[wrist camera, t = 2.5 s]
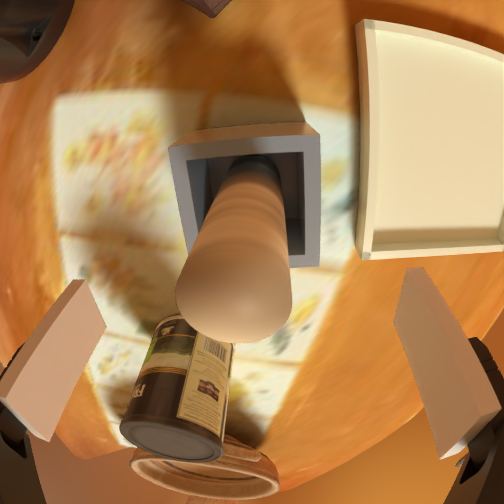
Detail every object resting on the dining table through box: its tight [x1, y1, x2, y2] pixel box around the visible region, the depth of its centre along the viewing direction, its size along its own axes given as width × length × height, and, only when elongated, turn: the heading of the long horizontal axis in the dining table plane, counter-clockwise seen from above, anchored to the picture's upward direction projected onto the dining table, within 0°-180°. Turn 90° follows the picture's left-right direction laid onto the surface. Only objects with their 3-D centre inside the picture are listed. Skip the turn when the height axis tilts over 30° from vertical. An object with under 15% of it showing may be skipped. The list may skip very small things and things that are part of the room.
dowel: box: [175, 155, 292, 343], centre depth 18 cm, size 4×4×15 cm
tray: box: [354, 19, 504, 260], centre depth 21 cm, size 20×18×3 cm
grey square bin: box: [168, 122, 321, 268], centre depth 22 cm, size 9×9×7 cm
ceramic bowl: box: [130, 434, 280, 500], centre depth 48 cm, size 37×29×10 cm
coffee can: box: [119, 315, 235, 463], centre depth 30 cm, size 10×10×14 cm
